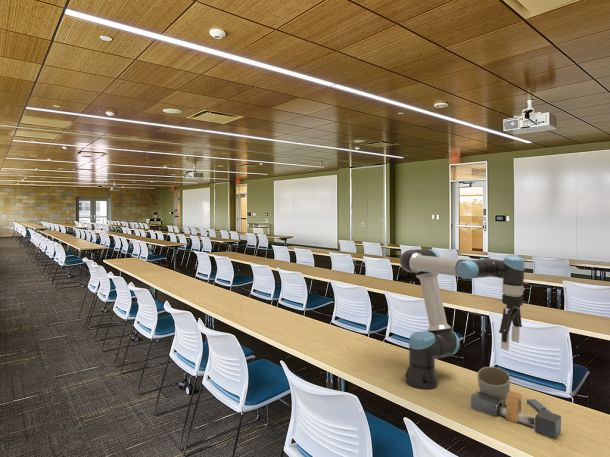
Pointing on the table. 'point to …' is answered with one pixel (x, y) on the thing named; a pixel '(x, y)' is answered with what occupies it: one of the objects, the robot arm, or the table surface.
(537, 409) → the bracket
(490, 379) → the planter
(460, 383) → the table surface
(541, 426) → the socket
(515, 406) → the orange and grey piece
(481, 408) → the grey block
